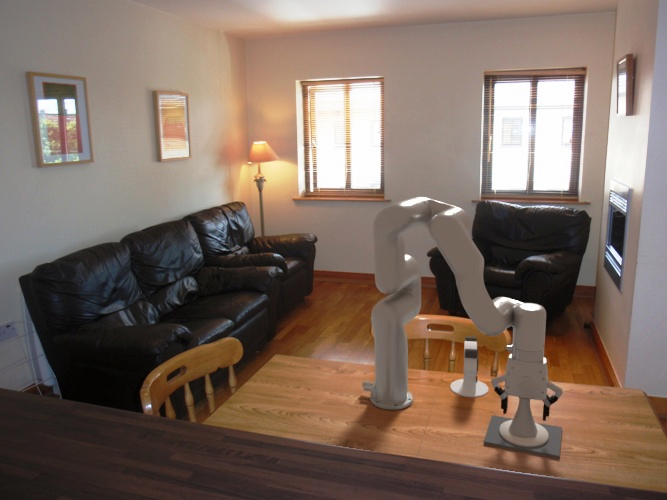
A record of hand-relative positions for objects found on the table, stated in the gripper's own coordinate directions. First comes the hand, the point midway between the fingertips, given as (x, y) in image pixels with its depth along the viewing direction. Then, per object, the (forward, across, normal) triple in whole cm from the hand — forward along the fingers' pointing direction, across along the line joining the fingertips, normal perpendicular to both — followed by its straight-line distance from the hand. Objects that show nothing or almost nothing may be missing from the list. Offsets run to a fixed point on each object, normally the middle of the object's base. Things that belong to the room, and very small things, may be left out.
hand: (524, 414), depth 148 cm
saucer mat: (+6, 0, 0) cm, 6 cm away
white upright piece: (+6, -18, +22) cm, 29 cm away
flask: (+5, 0, 0) cm, 5 cm away
